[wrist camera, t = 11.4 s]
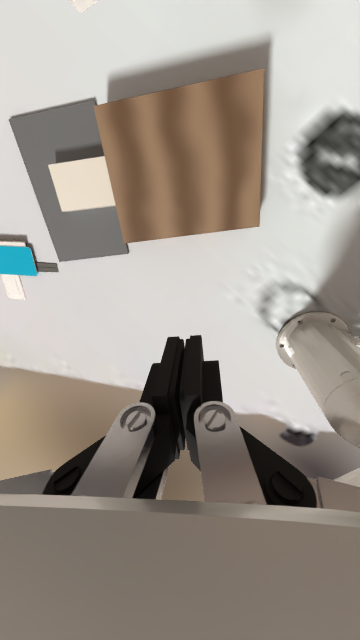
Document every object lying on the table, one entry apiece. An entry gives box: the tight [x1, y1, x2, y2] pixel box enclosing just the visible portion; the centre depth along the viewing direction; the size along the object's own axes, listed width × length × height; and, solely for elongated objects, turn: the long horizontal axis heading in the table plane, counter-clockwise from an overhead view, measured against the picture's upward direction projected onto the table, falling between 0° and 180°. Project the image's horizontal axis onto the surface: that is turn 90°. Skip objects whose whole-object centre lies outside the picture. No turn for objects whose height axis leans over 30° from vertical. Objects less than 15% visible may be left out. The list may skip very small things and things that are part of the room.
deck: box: [93, 68, 264, 243], centre depth 30 cm, size 20×16×4 cm
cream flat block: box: [48, 156, 116, 212], centre depth 33 cm, size 9×6×2 cm, turn 96°
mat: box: [9, 100, 129, 262], centre depth 34 cm, size 13×20×1 cm, turn 7°
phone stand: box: [0, 238, 58, 299], centre depth 41 cm, size 20×12×2 cm, turn 88°
